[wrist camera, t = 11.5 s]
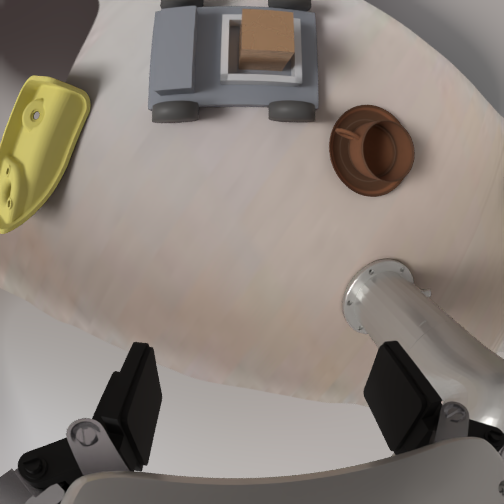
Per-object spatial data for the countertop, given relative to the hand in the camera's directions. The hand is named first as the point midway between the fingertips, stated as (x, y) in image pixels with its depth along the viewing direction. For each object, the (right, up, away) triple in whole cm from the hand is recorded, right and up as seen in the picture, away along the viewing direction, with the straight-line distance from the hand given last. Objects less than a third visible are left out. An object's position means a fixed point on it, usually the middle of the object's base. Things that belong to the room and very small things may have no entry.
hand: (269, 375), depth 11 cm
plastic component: (-31, +19, +20) cm, 41 cm away
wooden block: (0, +28, +17) cm, 33 cm away
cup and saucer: (+14, +18, +24) cm, 33 cm away
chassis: (-3, +29, +18) cm, 34 cm away
